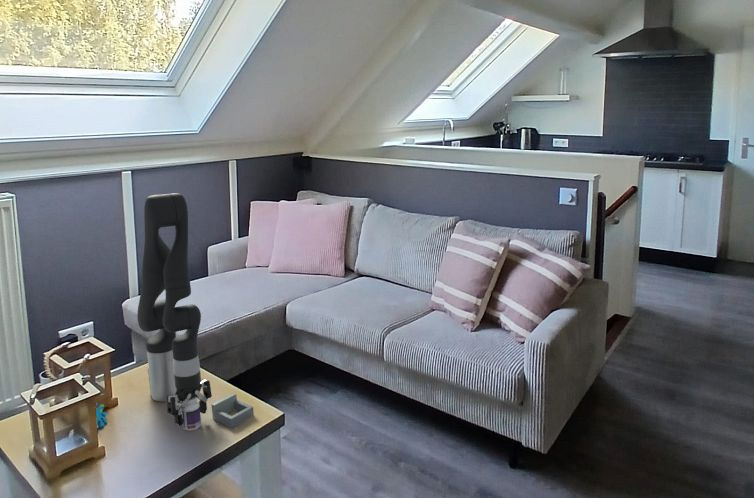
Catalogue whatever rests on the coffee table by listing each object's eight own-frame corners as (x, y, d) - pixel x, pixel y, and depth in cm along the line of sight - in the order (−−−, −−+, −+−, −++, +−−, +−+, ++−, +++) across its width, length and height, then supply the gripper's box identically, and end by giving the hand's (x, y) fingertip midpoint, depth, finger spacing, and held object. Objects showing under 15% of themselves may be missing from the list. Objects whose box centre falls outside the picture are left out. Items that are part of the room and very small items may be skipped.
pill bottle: (204, 423, 189) (202, 394, 187) (194, 432, 185) (191, 403, 182) (190, 420, 191) (187, 392, 189) (179, 429, 186) (176, 400, 184)
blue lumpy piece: (94, 431, 183) (72, 406, 183) (82, 443, 184) (60, 418, 184) (116, 416, 193) (95, 393, 194) (105, 428, 195) (84, 404, 195)
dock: (212, 418, 192) (211, 404, 191) (234, 406, 199) (233, 392, 198) (231, 427, 187) (230, 413, 186) (253, 415, 194) (252, 401, 192)
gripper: (198, 358, 191) (202, 405, 195) (158, 375, 180) (163, 424, 184) (214, 364, 186) (218, 412, 191) (174, 382, 175) (179, 433, 180)
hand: (191, 418), depth 187 cm, fingers open, 8 cm apart
